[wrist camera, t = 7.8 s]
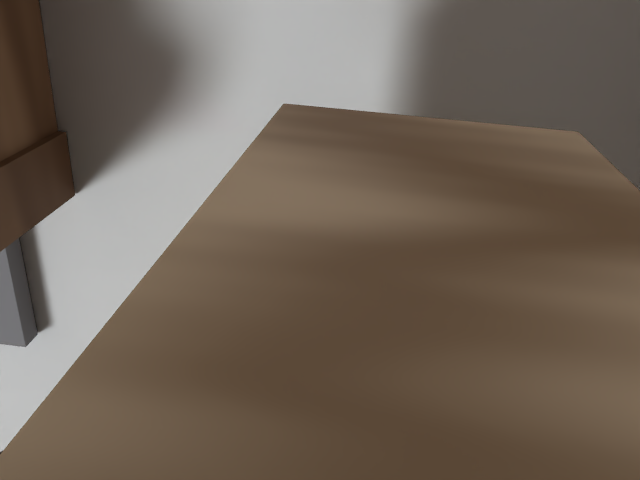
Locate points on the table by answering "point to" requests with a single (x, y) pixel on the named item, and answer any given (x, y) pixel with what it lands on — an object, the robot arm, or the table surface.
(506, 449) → the block
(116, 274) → the table surface
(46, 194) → the wooden frame
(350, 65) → the table surface
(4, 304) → the panel
